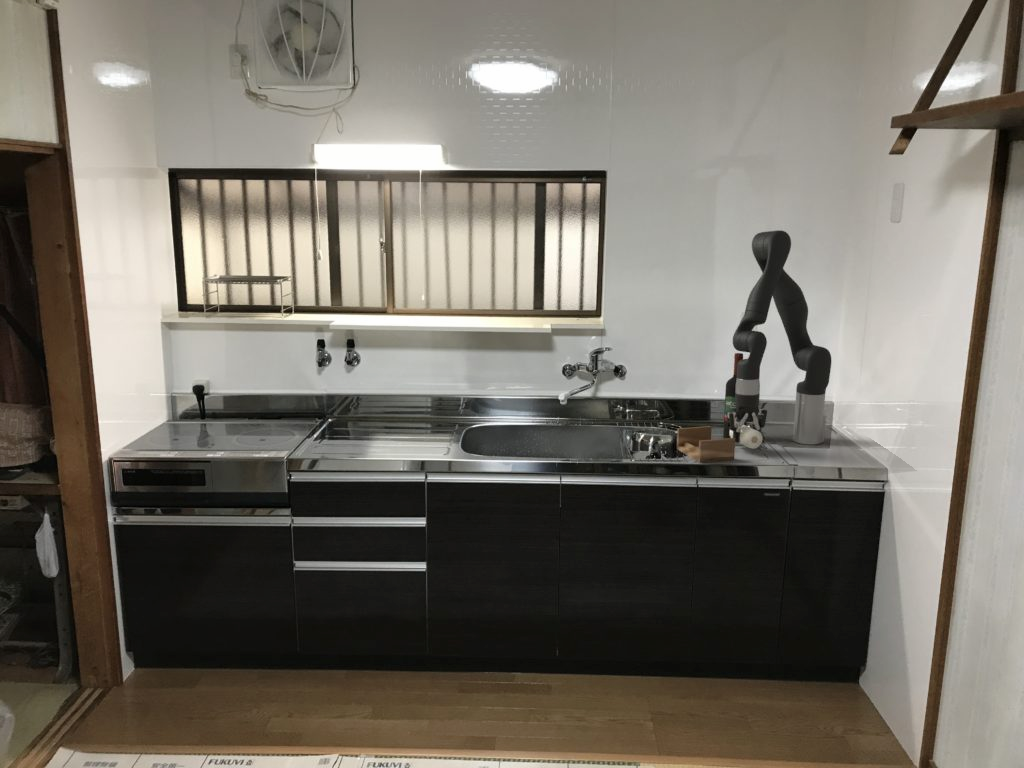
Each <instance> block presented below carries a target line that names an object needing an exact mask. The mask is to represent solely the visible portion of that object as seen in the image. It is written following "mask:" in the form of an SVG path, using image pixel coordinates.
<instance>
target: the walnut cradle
mask: <svg viewBox="0 0 1024 768" xmlns="http://www.w3.org/2000/svg"><path fill="white" fill-rule="evenodd" d="M712 428H713V427H712V426H711V425H706V426H694V427H693V426H692V427H681V428H677V429H676V431H677V432H676V450H677V451H679V452H681V453H682V454H684V455H686V456H688V457H689V458H691V459H692V458H693V460H694V459H695V460H694V461H696V462H697V461H699V462H706V463H709V462H708V461H716V462H724V461H726V460H727V461H735V451H736V449H735V448H736V442H735V438H725V439H724V438H717V439H716V438H715V439H712ZM727 461H726V462H727ZM699 462H698V463H699Z"/></svg>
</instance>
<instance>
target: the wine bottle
mask: <svg viewBox="0 0 1024 768" xmlns="http://www.w3.org/2000/svg"><path fill="white" fill-rule="evenodd" d="M733 357H734V363H733V375H732V377H731V378H730V379H728V380H727V382H726V384H725V391H724V392H725V396H724V413H723V430H722V431H723V433H722V434H723V435H722V437H723V438H722V439H725V438H731V437H730V435H729V431H730V429H728V428H727V417H726V413H727V412H733V411H734V410H735V408H736V406H735V391H736V380H737V364H738V362H739V361H740V360H742V359H744V353H742V352H741V353H740V352H735V353H734V356H733ZM735 419H736V415H735V418H734V421H735ZM739 422H740V421H739ZM747 423H748V422H746V423H744V424H743V425H745V426H747Z"/></svg>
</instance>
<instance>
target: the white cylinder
mask: <svg viewBox="0 0 1024 768" xmlns="http://www.w3.org/2000/svg"><path fill="white" fill-rule="evenodd" d="M739 432H740V442H739V443H738V444H741V445H743V446H745V447H747V448H749V449H757V448H758V447H760V446H761V444H762V442H763V434H762V433H761V431H760V430H759V431H757V430H754V429H753V427H749V426H748V425H746V426H745V425H743V426H742V427H741V429H740V431H739ZM729 435H730V437H731V438H733V431H732V430H730V431H729Z"/></svg>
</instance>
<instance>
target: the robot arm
mask: <svg viewBox="0 0 1024 768" xmlns="http://www.w3.org/2000/svg"><path fill="white" fill-rule="evenodd" d="M791 248H792V239H791V236H790V235H789V233H788V232H787V231H784V230H770V231H761V232H758V233H756V234H755V235H754V237H753V238H752V241H751V250H752V251H751V252H752V255H753V256H754V258H755V261H756V262H757V265H758V266H759V268H760V270H761V272H762V274H761V275H760V278H759V279H758V280H757V281H756V283H755V285H754V286H753V287H752V288H751V291H750V293H749V296H748V298H747V300H746V305H745V310H744V314H743V315H742V318H741V320H740V321H739V324H738V325H737V327H736V329H735V332H734V333H733V336H732V345H733V348H734V349H735V350H736V351H737V352H741V353H742V352H745V353H749V356H748V357H747V358H743V359H742V360H740V361H739V362H738V364H737V380H736V391H735V406H736V408H735V410H734V411H733V412H727V413H726V417H727V428H728V429H730V430H732V431H733V438H735V444H740V443H739V442H740V432H739V431H740V429H741V427H742V426H743V424H744V423H746V422H747V423H750V424H751V428H752V429H754V430H757V431H759V432H760V429H762V428H765V427H766V420H767V416H768V410H767V409H764V408H759V406H760V395H761V379H760V373H761V372H760V371H761V363H762V360H763V357H764V354H765V351H766V349H767V344H768V341H767V336H766V334H764V332H761V331H759V330H754V328H755V327H756V326H761V325H764V324H765V323H766V321H767V318H768V315H769V314H768V313H769V311H770V307H771V306H770V305H771V302H772V299H773V302H774V304H775V308H776V311H777V313H778V315H779V317H780V320H781V323H782V325H783V328H784V331H785V334H786V336H787V337H786V338H787V340H788V344H789V347H790V351H791V354H792V359H793V362H794V364H795V366H796V367H797V368H798V369H799V370H801V371H803V372H805V377H804V380H803V381H799V382H798V383H797V385H796V391H795V406H794V418H793V420H794V421H793V435H792V440H793V442H795V443H799V444H803V445H819V444H822V443H825V437H826V425H827V424H826V423H827V415H826V414H825V402H826V401H825V400H826V392H827V391H826V390H827V388H828V385H829V384H830V383H829V382H830V377H831V369H832V355H831V352H830V350H829V349H827V348H826V347H823V346H821V345H817V344H816V345H814V343H813V342H812V340H811V338H810V334H809V333H808V329H807V328H808V327H807V324H808V323H807V322H808V316H809V308H808V307H809V306H808V304H807V300H806V297H805V295H804V291H803V290H802V288H801V287H800V286H799V284H798V283H797V282H796V281H795V280H794V279H793V277H791V276H790V275H789V274H788V273H787V271H785V269H784V267H785V264H786V262H787V260H788V257H789V255H790V252H791ZM735 415H736V419H735V421H734V418H735ZM757 416H758V417H757ZM739 421H740V422H739Z"/></svg>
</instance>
